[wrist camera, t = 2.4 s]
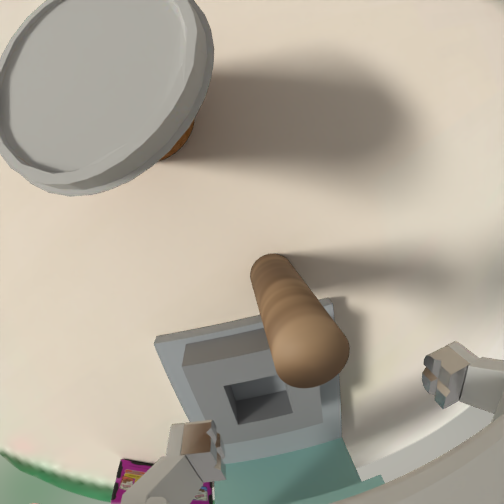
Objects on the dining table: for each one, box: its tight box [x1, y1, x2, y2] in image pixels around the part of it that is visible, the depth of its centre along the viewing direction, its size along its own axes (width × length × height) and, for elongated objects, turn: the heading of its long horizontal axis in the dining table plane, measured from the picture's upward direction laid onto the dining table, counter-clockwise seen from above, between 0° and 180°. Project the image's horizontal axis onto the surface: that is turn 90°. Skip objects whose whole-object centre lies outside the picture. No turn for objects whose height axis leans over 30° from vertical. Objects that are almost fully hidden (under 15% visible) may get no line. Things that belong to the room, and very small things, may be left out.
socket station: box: [154, 298, 385, 504], centre depth 19 cm, size 18×14×12 cm
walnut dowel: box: [250, 254, 349, 388], centre depth 17 cm, size 3×3×11 cm
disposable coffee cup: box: [0, 0, 214, 196], centre depth 13 cm, size 10×10×12 cm
